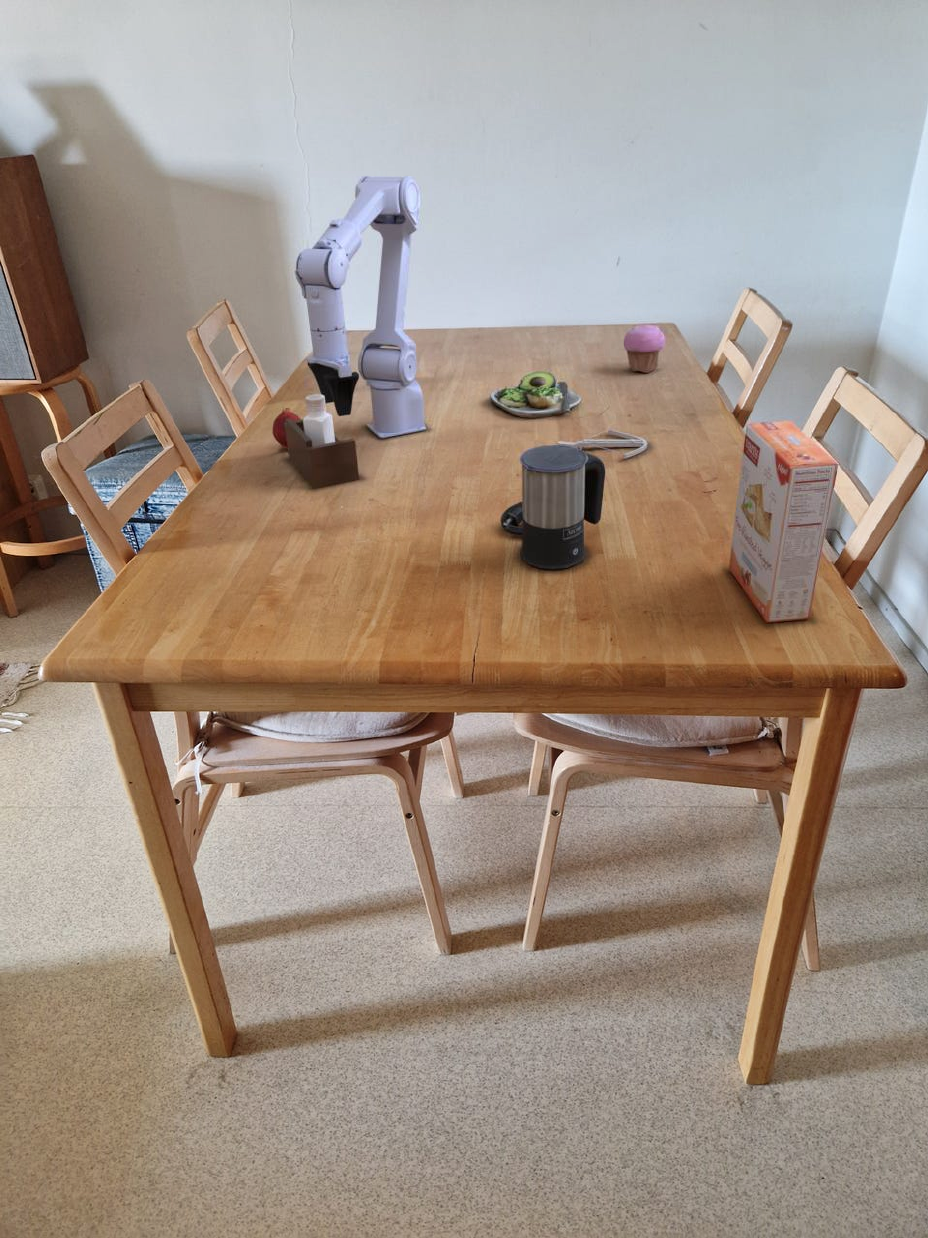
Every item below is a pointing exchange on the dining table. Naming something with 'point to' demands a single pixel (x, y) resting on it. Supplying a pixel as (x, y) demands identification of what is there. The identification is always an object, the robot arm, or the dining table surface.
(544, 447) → the milk frother
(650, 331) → the cupcake
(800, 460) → the cracker box
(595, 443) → the crossbow
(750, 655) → the dining table surface
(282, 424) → the onion
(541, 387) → the salad plate
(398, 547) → the dining table surface
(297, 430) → the box
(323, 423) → the pepper shaker
